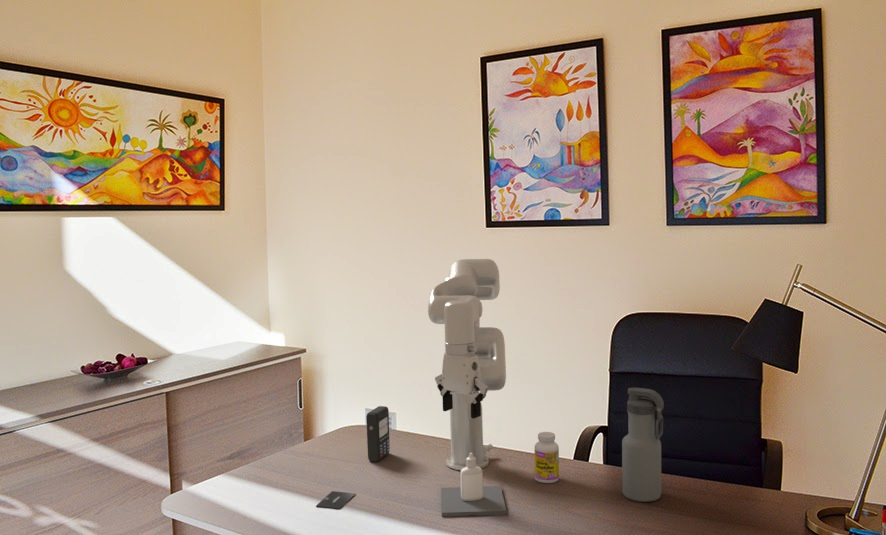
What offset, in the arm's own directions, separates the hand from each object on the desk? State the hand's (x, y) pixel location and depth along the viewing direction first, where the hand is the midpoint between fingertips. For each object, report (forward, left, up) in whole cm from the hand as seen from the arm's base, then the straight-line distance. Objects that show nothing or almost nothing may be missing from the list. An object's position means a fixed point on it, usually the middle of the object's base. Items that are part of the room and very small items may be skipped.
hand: (461, 413), depth 191 cm
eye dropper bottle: (0, +3, -22) cm, 22 cm away
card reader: (-6, -41, -23) cm, 47 cm away
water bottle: (-32, +34, -23) cm, 52 cm away
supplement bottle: (-25, +9, -23) cm, 35 cm away
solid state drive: (+23, -25, -23) cm, 41 cm away
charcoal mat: (0, +3, -23) cm, 23 cm away
